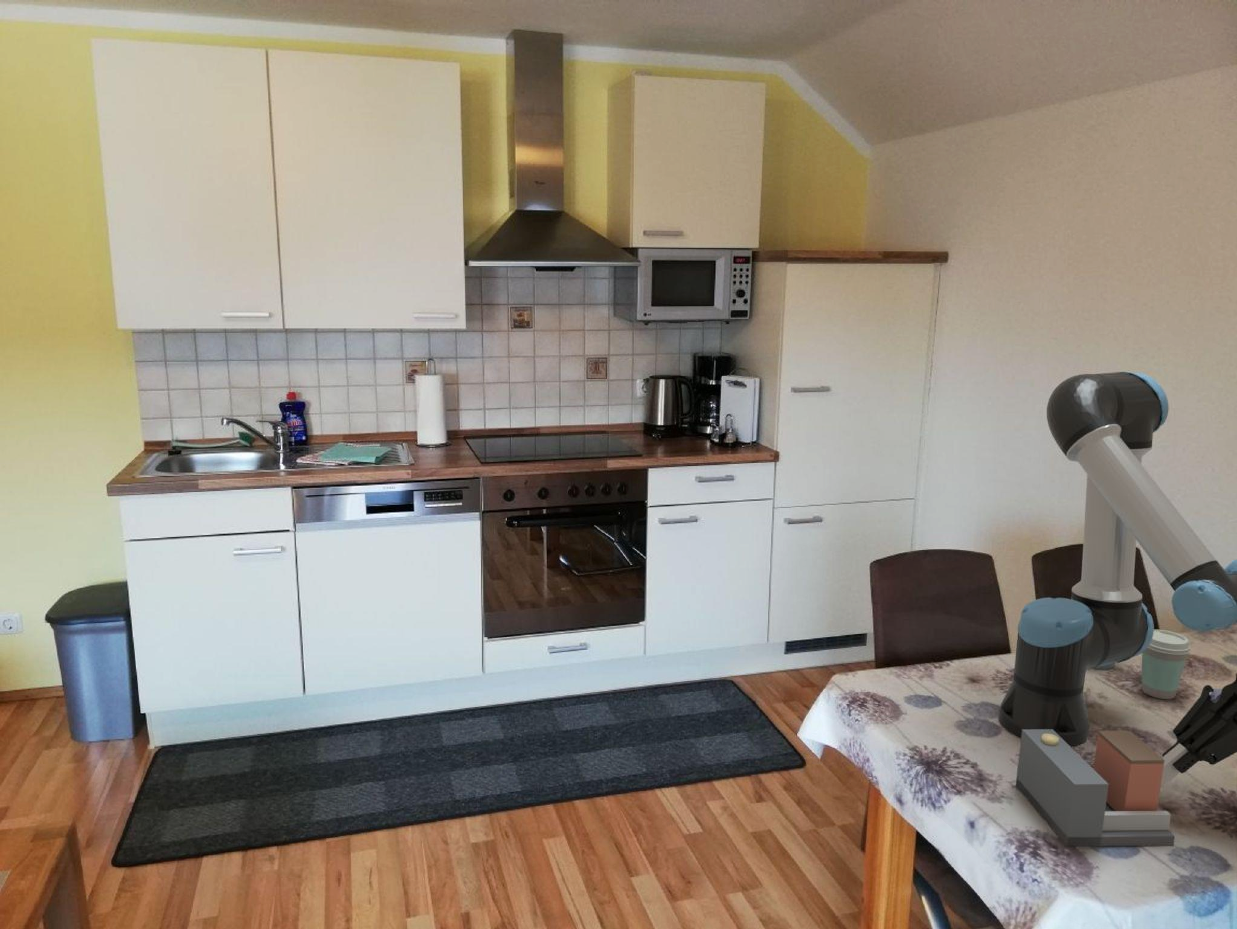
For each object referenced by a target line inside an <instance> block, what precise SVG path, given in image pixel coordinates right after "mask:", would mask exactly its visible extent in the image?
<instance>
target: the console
mask: <svg viewBox="0 0 1237 929" xmlns="http://www.w3.org/2000/svg"><path fill="white" fill-rule="evenodd" d="M1019 746H1020V747H1019V753H1018V762H1017V770H1016V771H1017V772H1016V779H1015V787H1016V788H1017V789H1018V790H1019V791H1020V793H1021V794H1022V795H1023V797H1025V799H1026V800H1027V801H1028V802H1029V803H1030V805H1031V806H1032V807H1033V808H1034V809H1035V811H1036V813H1037V814H1039V815H1040V817H1041V818H1042V819H1043V820H1044V821H1045V822H1046V824H1047V825H1048V826H1049V827H1050V829H1051V830H1052V831H1053V832H1054V833H1055V835H1057V837H1058V838H1059V840H1061V842H1062V843H1063V845H1065V846H1066V847H1119V846H1120V847H1123V846H1124V847H1125V846H1126V847H1129V846H1130V847H1133V846H1138V847H1140V846H1174V845H1175V838H1176V836H1175V835H1174V833H1173V832H1172V831H1170V830H1169V829H1170V825H1171V824H1170V823H1171V816H1172V815H1171V813H1170V812H1169V811H1167V810H1157V811H1115V810H1114V809H1113V808H1112V807H1111V806H1110V805H1109V804H1108V803H1107V802H1106V800H1107V793H1108V786H1109V784H1108V783H1107V782H1106V781H1105V780H1104V779H1103V778H1102V777H1101V776H1100V775H1099V774H1098V773H1097V772H1096V771H1095V770H1094V769H1093V768H1094V767H1092V766H1091V765H1089V763H1087V761H1086V760H1085V759H1084V758H1082V756H1081V755H1079V753H1078V752H1076V750H1075V749H1073V747H1072V746H1069V745H1068V744H1067V743H1066V742H1065V741H1064V740H1063V739H1062V738H1061V737H1060V736H1059V735H1058V734H1057V733H1056V732H1055V731H1054V730H1053V729H1022V735H1021V737H1020V745H1019Z"/></svg>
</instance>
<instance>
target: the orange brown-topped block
mask: <svg viewBox="0 0 1237 929" xmlns="http://www.w3.org/2000/svg"><path fill="white" fill-rule="evenodd" d="M1093 760H1094V762H1093V767H1092V768H1093V769H1094V770H1095V771H1096V772H1097V773H1098V774H1099V775H1100V776H1101V777H1102V778H1103V779H1104V780H1105V781H1106V782H1107V783H1108V784H1109V786H1108V793H1107V800H1106V802H1107V803H1108V804H1109V805H1110V806H1111V807H1112V808H1113V809H1114V810H1115V811H1158V805H1159V799H1160V798H1159V797H1160V791H1161V787H1162V786H1161V780H1162V773H1163V767H1164V759H1162V756H1160V755H1159V754H1158V753H1156V752H1155V751H1154V750H1153V749H1152V748H1151V747H1149V745H1147V744H1146V743H1145V742H1144V741H1143V740H1141V739H1140V738H1139V737H1138V736H1136V735H1135V734H1134V733H1133V732H1131V731H1130V730H1098V731H1097V738H1096V746H1095V753H1094V759H1093Z"/></svg>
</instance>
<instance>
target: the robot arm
mask: <svg viewBox="0 0 1237 929" xmlns="http://www.w3.org/2000/svg"><path fill="white" fill-rule="evenodd" d="M1168 400H1169V399H1168V397H1167V394H1166V392H1165V390H1164V389H1163V387H1162V386H1161V385H1160V384H1159V383H1158V381H1156V380H1155V379H1154V378H1152V377H1151V376H1149V375H1147V374H1144V373H1141V372H1140V373H1139V372H1131V371H1130V372H1129V371H1125V370H1124V371H1117V372H1116V371H1115V372H1103V373H1082V374H1077V375H1073V376H1071V377H1069V378H1066V379H1065V380H1063V381H1061V383H1059V384H1058V385H1057V386H1056V387H1055V389H1054V390H1053V391H1052V393H1051V395H1050V396H1049V398H1048V402H1047V405H1046V420H1047V425H1048V429H1049V431H1050V433H1051V436H1052V438H1053V440H1054V441H1055V444H1056V445H1057V446H1058V448H1059V449H1060V450H1061V452H1062V453H1063V454H1064V456H1065V457H1066V458H1067V460H1068V461H1070V462H1076V463H1078V464H1079V465H1080V466H1081V468H1082V469H1083V471H1084V472H1085V473H1086V489H1085V490H1086V491H1085V492H1086V493H1085V507H1084V508H1085V509H1084V510H1085V511H1084V523H1083V524H1084V526H1083V542H1082V543H1083V546H1082V558H1081V559H1082V562H1081V564H1082V565H1081V578H1080V581H1079V582H1077V583H1075V585H1073V586H1072V587H1071V599H1070V598H1065V597H1056V598H1052V597H1042V598H1038V599H1034V600H1032V601H1030V602H1028V603H1027V604H1026V605H1025V606H1024V607H1023V608H1022V610H1021V613H1020V617H1019V618H1020V619H1019V621H1018V625H1017V638H1016V639H1017V641H1016V649H1015V658H1014V670H1013V678H1012V682H1011V683H1010V686H1009V687H1008V690H1007V691H1006V694H1005V695H1004V697H1003V699H1002V701H1001V703H1000V705H999V709H998V710H999V711H998V712H999V713H998V721H999V722H1000V724H1001V726H1002V727H1003V728H1004V729H1005V730H1007V731H1008V732H1010V733H1011V734H1013V735H1014V736H1017V737H1019V738H1021V735H1022V729H1053V730H1054V731H1055V732H1056V733H1057V734H1058V735H1059V736H1060V737H1061V738H1062V739H1063V740H1064V741H1065V742H1066V743H1067V744H1068V745H1069V746H1070V747H1072V746H1073V747H1074V746H1078V745H1080V744H1083V743H1085V742H1086V741H1087V740H1089V736H1090V724H1091V723H1090V719H1089V714H1088V710H1087V707H1086V703H1085V702H1086V701H1085V697H1084V689H1085V688H1084V687H1085V682H1086V681H1085V680H1086V672H1087V670H1090V669H1092V668H1095V667H1099V666H1103V665H1107V664H1111V663H1115V664H1116V663H1118V664H1119V663H1123V662H1127V661H1129V660H1131V659H1133V658H1134V657H1138V656H1139V655H1140V654H1141V655H1142V652H1143V651H1145V650H1146V648H1147V647H1148V646H1149V644H1150V642H1151V640H1152V637H1153V633H1154V630H1155V625H1154V620H1153V617H1152V615H1151V614H1150V613H1149V611H1148V607H1147V606H1146V605H1145V604H1144V603H1143V594H1142V593H1141V592H1140V591H1139V590H1138V589H1137V587H1136V586H1135V585H1134V583H1135V582H1134V581H1135V569H1136V568H1135V566H1136V565H1135V564H1136V552H1137V550H1136V549H1137V543H1138V544H1139V545H1140V548H1142V550H1143V551H1144V552H1145V554H1146V556H1148V557H1149V559H1150V560H1151V562H1152V563H1153V564H1154V565H1155V567H1156V568H1157V570H1158V571H1159V573H1160V574H1161V575H1162V577H1164V579H1165V580H1166V581H1167V583H1168V584H1169V586H1170V587H1171V588H1172V589H1173V591H1174V592H1173V593H1172V597H1171V605H1172V611H1173V614H1174V616H1175V618H1176V619H1177V620H1178V622H1180V623H1181V624H1182V625H1183V626H1185V627H1187V628H1188V629H1191V630H1192V631H1193V630H1194V631H1196V632H1210V631H1221V630H1224V629H1228V628H1230V627H1233V626H1237V559H1233V560H1232V561H1231V562H1230V563H1229V564H1228V565H1227V566H1226V567H1225V568H1224V567H1223V566H1222V565H1221V564H1220V563H1219V561H1218V560H1217V559H1216V557H1215V556H1214V555H1213V554H1212V553H1211V551H1210V550H1209V548H1207V546H1206V545H1205V543H1204V542H1203V541H1202V540H1201V538H1199V536H1198V535H1197V533H1196V532H1195V531H1194V529H1193V528H1192V527H1191V526H1190V524H1189V523H1188V522H1187V520H1186V519H1185V517H1183V515H1182V514H1181V513H1180V512H1179V511H1178V509H1177V508H1176V507H1175V505H1174V503H1172V502H1171V500H1170V499H1169V497H1168V496H1167V495H1166V494H1165V493H1164V491H1163V490H1162V488H1161V487H1160V486H1159V485H1158V483H1157V482H1156V481H1155V480H1154V478H1153V477H1152V476H1151V475H1150V474H1149V472H1148V471H1147V469H1146V468H1145V467H1144V465H1143V464H1142V461H1143V460H1142V458H1143V457H1144V456H1145V455H1146V454H1148V452H1149V451H1151V450H1152V449H1153V437H1154V433H1156V432H1157V431H1158V430H1159V429H1160V428H1161V427H1162V426H1163V425H1164V424H1165V423H1166V421H1167V419H1168V415H1169V410H1170V409H1169V406H1170V405H1169V401H1168ZM1172 733H1173V734H1174V735H1175V737H1176V742H1175V743H1174V744H1173V745H1171V747H1168V749H1167V750H1165V752H1163V754H1162V755H1161V758H1162V759H1164V767H1163V773H1162V780H1161V786H1160V787H1162V788H1163V787H1165V786H1166V785H1167V784H1169V783H1170V781H1172V780H1173V779H1174V778H1176V777H1177V776H1178V775H1179V774H1185V773H1186V772H1187V771H1188V770H1190V769H1191V768H1192V767H1194V765H1196V764H1197V763H1198V762H1206V763H1208V764H1209V765H1211V766H1215V765H1216V764H1218V763H1220V762H1221V761H1224V760H1225V759H1227V758H1229V757H1231V756H1232V755H1235V754H1236V753H1237V672H1236V673H1235V680H1234V681H1233V682H1232V683H1231V682H1230V683H1229V684H1226V685H1225V686H1223V687H1222V688H1213V687H1212V686H1211V685H1210V684H1207V685H1204V687H1202V690H1201V694H1200V696H1199V697H1198V699H1197V700H1196V701H1195V702H1194V703H1193V705H1192V706H1191V708H1190V709H1189V710H1188V711H1187V712H1186V714H1185V715H1184V716H1183V717H1182V719H1180V721H1179V722H1178V723H1177V725H1176V726H1175V727H1174V728H1173V730H1172Z"/></svg>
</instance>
